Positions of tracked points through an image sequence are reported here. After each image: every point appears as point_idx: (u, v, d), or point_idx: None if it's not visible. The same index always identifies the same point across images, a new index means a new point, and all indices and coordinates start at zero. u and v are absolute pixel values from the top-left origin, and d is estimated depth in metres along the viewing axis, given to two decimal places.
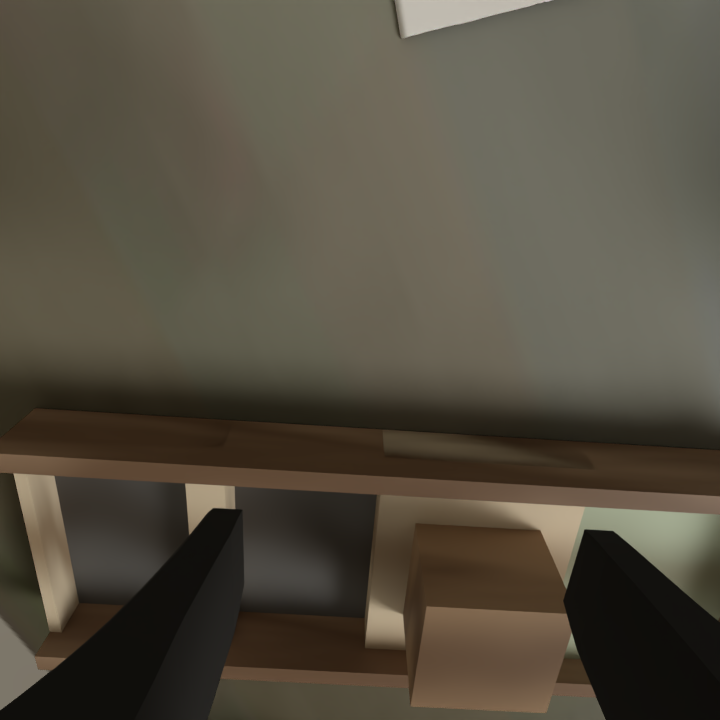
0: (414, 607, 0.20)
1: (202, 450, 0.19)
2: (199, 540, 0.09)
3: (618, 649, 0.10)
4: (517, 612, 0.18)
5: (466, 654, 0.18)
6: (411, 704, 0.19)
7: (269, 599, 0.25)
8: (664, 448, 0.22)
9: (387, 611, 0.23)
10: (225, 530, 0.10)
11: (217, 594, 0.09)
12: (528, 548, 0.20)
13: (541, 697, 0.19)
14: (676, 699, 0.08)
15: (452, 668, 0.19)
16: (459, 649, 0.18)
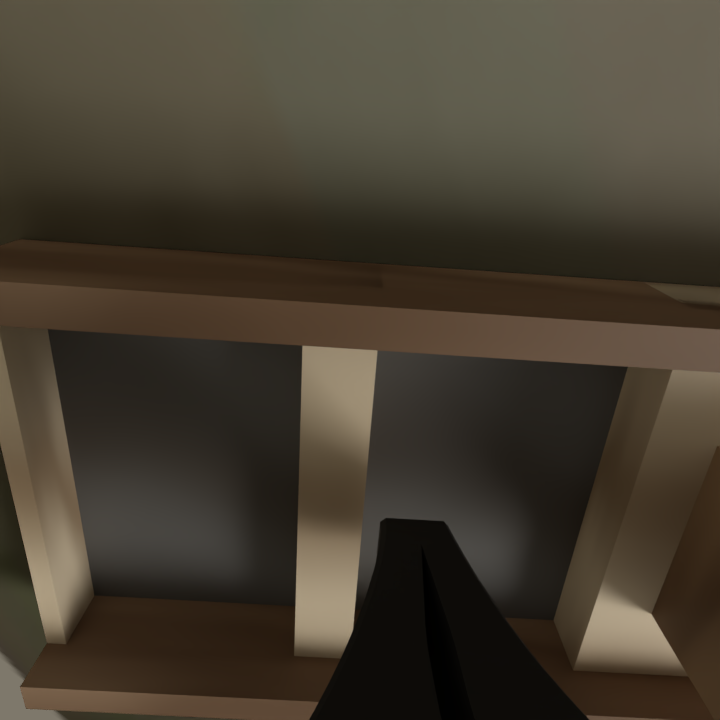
0: None
1: (346, 289, 0.10)
2: (395, 551, 0.10)
3: None
4: None
5: None
6: None
7: None
8: None
9: (625, 609, 0.13)
10: (414, 541, 0.10)
11: None
12: None
13: None
14: (445, 688, 0.08)
15: None
16: None
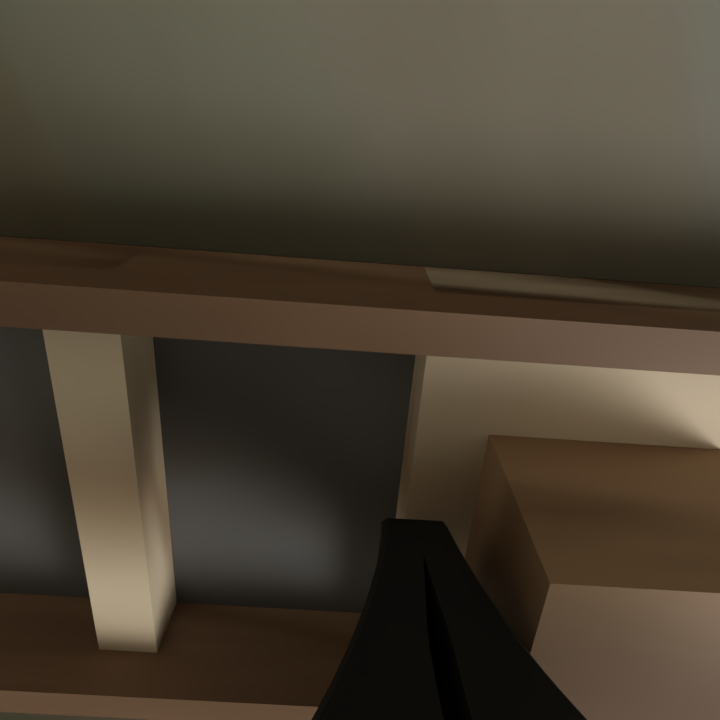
0: (494, 591, 0.10)
1: (67, 270, 0.10)
2: (397, 551, 0.10)
3: None
4: None
5: (622, 689, 0.08)
6: None
7: (226, 582, 0.15)
8: None
9: None
10: (415, 541, 0.10)
11: None
12: (716, 477, 0.10)
13: None
14: (443, 688, 0.08)
15: None
16: (608, 679, 0.08)
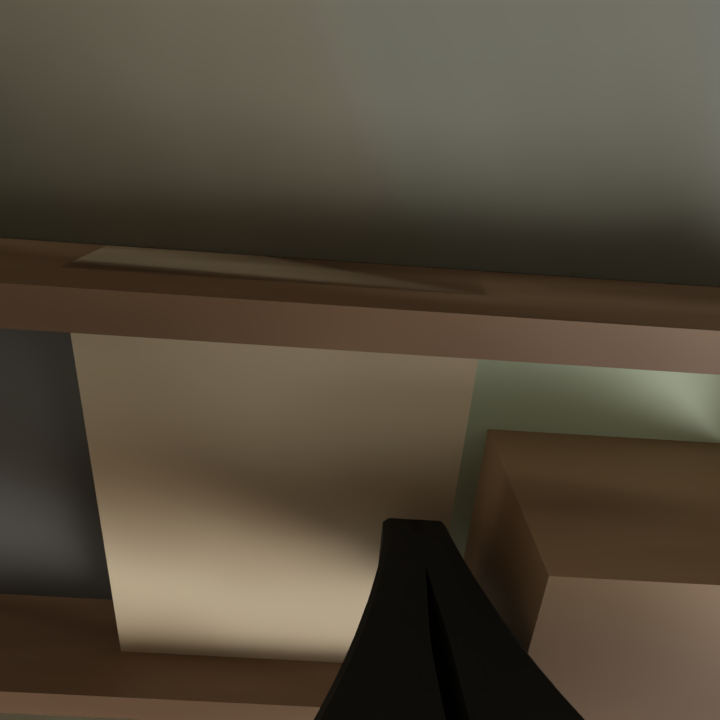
0: (493, 586, 0.10)
1: None
2: (398, 551, 0.10)
3: None
4: None
5: (623, 683, 0.08)
6: None
7: None
8: (632, 282, 0.12)
9: (143, 587, 0.13)
10: (416, 541, 0.10)
11: None
12: (716, 470, 0.10)
13: None
14: (441, 687, 0.08)
15: (588, 714, 0.09)
16: (608, 673, 0.08)
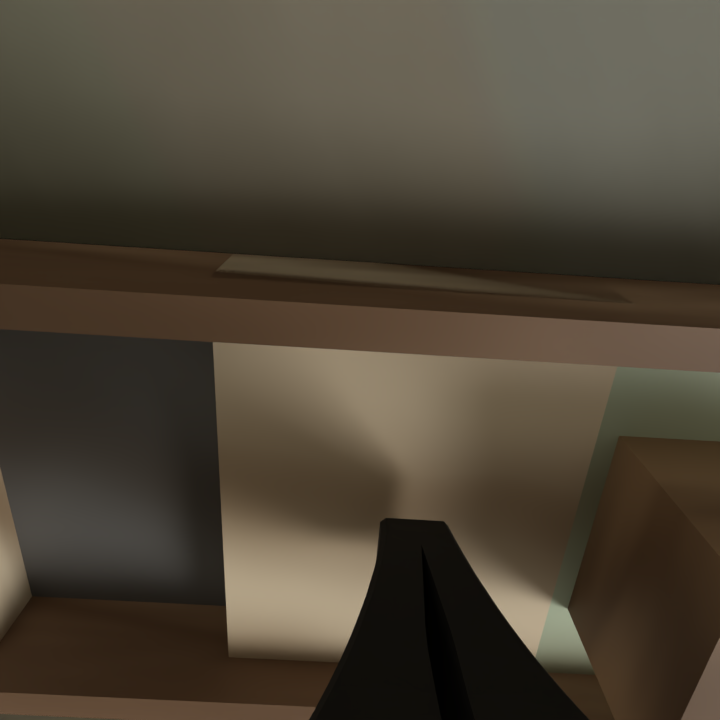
0: (639, 593, 0.10)
1: None
2: (395, 551, 0.10)
3: None
4: None
5: None
6: None
7: (78, 575, 0.15)
8: None
9: (258, 593, 0.13)
10: (414, 541, 0.10)
11: None
12: None
13: None
14: (445, 688, 0.08)
15: None
16: None
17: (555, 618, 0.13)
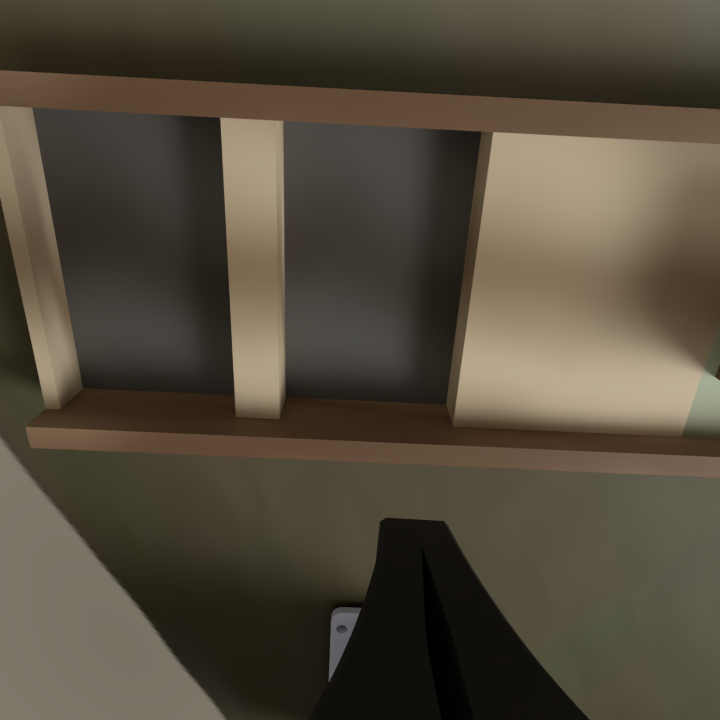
0: None
1: None
2: (395, 551, 0.10)
3: None
4: None
5: None
6: None
7: (325, 377, 0.19)
8: None
9: (485, 367, 0.18)
10: (413, 541, 0.10)
11: None
12: None
13: None
14: (445, 687, 0.08)
15: None
16: None
17: (704, 386, 0.18)
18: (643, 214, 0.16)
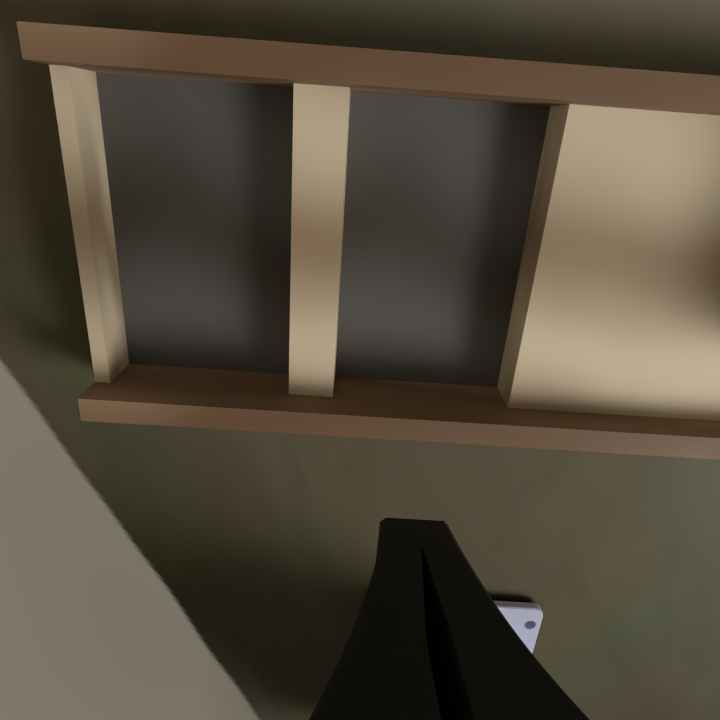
0: None
1: None
2: (395, 551, 0.10)
3: None
4: None
5: None
6: None
7: (376, 356, 0.19)
8: None
9: (545, 347, 0.17)
10: (414, 541, 0.10)
11: None
12: None
13: None
14: (445, 688, 0.08)
15: None
16: None
17: None
18: (715, 192, 0.15)
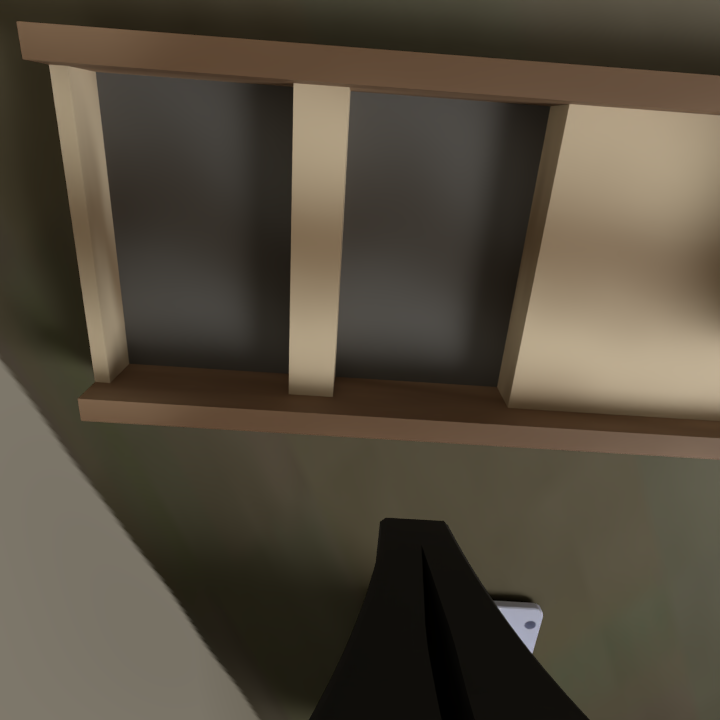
0: None
1: None
2: (395, 551, 0.10)
3: None
4: None
5: None
6: None
7: (376, 356, 0.19)
8: None
9: (545, 347, 0.17)
10: (414, 541, 0.10)
11: None
12: None
13: None
14: (445, 688, 0.08)
15: None
16: None
17: None
18: (715, 192, 0.15)
